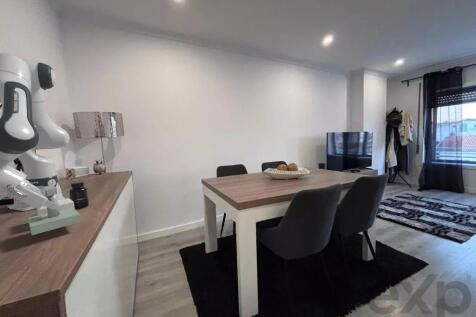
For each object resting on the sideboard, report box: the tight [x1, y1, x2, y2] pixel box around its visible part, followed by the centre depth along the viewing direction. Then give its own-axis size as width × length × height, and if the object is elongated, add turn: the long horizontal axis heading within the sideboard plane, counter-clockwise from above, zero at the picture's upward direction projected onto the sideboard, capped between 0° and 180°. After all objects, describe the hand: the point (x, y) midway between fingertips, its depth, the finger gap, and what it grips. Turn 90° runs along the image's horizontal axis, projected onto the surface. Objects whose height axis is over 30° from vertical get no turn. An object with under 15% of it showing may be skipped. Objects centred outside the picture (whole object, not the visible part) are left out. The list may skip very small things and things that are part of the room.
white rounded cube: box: [36, 197, 76, 216], centre depth 80 cm, size 10×10×7 cm
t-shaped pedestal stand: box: [27, 185, 82, 236], centre depth 69 cm, size 12×12×13 cm
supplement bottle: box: [68, 181, 90, 210], centre depth 96 cm, size 7×7×12 cm
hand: (55, 206), depth 70 cm, fingers closed on t-shaped pedestal stand, 3 cm apart
